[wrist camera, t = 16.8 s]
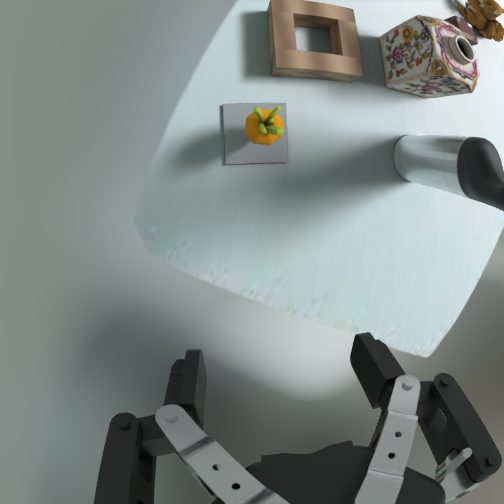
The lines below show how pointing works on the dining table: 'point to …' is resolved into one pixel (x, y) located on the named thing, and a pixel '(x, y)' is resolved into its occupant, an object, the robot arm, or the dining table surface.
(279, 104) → the rubber mat
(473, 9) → the stuffed squirrel
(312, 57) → the socket block
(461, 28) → the box
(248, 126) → the carrot
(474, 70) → the decorative jar
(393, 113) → the dining table surface
